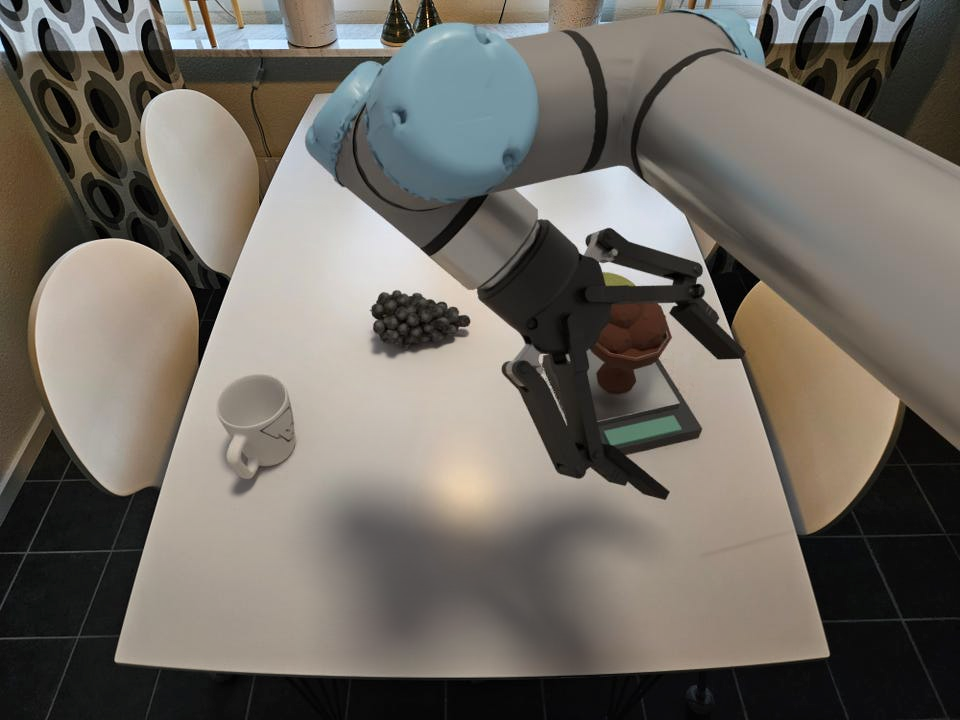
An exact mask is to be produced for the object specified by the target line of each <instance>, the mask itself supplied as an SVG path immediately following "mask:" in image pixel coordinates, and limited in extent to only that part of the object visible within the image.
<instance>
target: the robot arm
mask: <svg viewBox="0 0 960 720" xmlns="http://www.w3.org/2000/svg"><path fill="white" fill-rule="evenodd" d="M765 61H766V60H765V54H764V50H763V47H762V44H761V41H760V39H759V38H757V37H756V36H754V34H753V32H752V31H751V24H750V23H749V21H748V20H746V18H745V17H743V16H742V15H740V13H737V12H735V11H733V10H730V9H725V8H704V9H703V8H702V9H701V8H700V9H690V8H680V7H679V8H674V9H671V10H669V11H668V10H665V11H661V12H659V13H657V14H651V15H646V16H640V17H639V16H638V17H635V18H628V19H622V20H616V21H611V22H605V23H598V24H593V25H586V26H582V27H581V26H580V27H576V28H570V29H563V30H556V31H550V32H549V31H548V32H543V33H536V34H530V35H524V36H517V37H509V38H504V37H503V36H501V35H499V34H497V33H494V32H491V31H490V30H488V29H485V28H483V27H480V26H475V24H472V23H467V22H443V23H438V24H436V25H433V26H431V27H428V28H425V29H423V30H421V31H419V32H418V33H416V34H415V35H413V36H411V38H410V39H408V40H407V41H406V42H405V43H404V44H403V45H402V46H401V47H400V48H399V49H398V50H397V52H394V54H393V55H392V56H391V58H390V59H389V61H388V62H386V63H385V64H383V65H382V64H381V63H380V62H376V61H373V60H368V61H364V62H361V63H360V64H358V65H357V66H355V68H354V69H353V70H352V71H351V72H350V73H349V74H348V75H347V76H346V77H345V78H344V80H343V81H342V82H341V83H340V84H339V85H338V86H337V88H336V89H335V90H334V91H333V93H332V94H331V95H330V96H329V98H328V99H327V101H325V103H324V104H323V106H322V107H321V108H320V109H319V112H318V113H317V114H316V116H315V117H314V119H313V121H312V124H311V125H310V126H309V127H308V129H307V131H306V133H305V138H304V144H305V149H306V151H307V152H308V154H309V155H310V157H312V158H313V160H315V161H316V162H317V163H318V164H319V165H320V166H321V167H322V168H323V169H325V171H327V172H328V173H329V174H330V175H331V176H332V177H333V181H334V182H335V183H336V184H338V185H339V186H340V187H341V188H346V189H347V190H348V191H350V193H352V194H353V195H354V196H355V197H357V198H358V199H359V200H361V201H362V202H363V203H364V204H365V205H367V207H369V208H370V209H372V211H374V212H375V213H376V214H378V215H379V216H380V217H381V218H382V219H383V220H385V221H386V222H387V223H389V224H390V225H391V226H392V227H393V228H394V229H396V230H397V231H398V232H399V233H401V234H402V235H403V236H404V237H405V238H406V239H408V240H409V241H410V242H411V243H412V244H414V245H415V246H416V247H417V248H419V250H421V251H422V252H423V253H424V254H425V255H426V256H427V257H428V258H429V259H430V260H431V261H433V262H434V263H435V264H436V265H438V266H439V267H440V268H441V269H442V270H444V271H445V272H446V273H447V274H448V275H450V276H451V277H452V278H453V279H454V280H456V281H457V282H458V283H459V284H460V285H461V286H462V287H464V288H465V289H466V290H467V291H474V290H476V294H477V299H478V300H479V301H480V303H482V304H483V305H485V307H487V308H488V309H489V310H490V311H492V312H493V313H494V314H495V315H496V316H498V317H499V319H501V320H502V321H503V322H504V323H506V324H507V325H508V326H510V328H512V329H514V330H515V331H516V332H517V333H518V334H519V335H520V336H521V339H522V340H523V342H524V344H525V345H524V346H523V347H522V349H521V350H520V351H519V352H518V354H517V355H516V356H515V357H514V358H513V360H507V361H505V362H503V364H502V365H501V374H502V375H503V376H504V377H505V378H506V379H507V380H508V381H509V382H510V384H512V385H513V386H514V387H515V388H516V390H518V392H519V394H520V396H521V398H522V401H523V402H524V405H525V407H526V410H527V411H528V413H529V415H530V418H531V420H532V422H533V424H534V426H535V429H536V431H537V433H538V435H539V437H540V439H541V441H542V443H543V446H544V447H545V450H546V452H547V454H548V456H549V458H550V461H551V463H552V465H553V467H554V470H555V471H556V473H557V474H559V475H562V476H566V477H570V478H573V479H577V480H580V479H583V478H584V477H585V476H586V474H587V471H588V470H589V469H592V470H593V471H594V472H596V473H597V474H598V475H599V476H600V477H602V478H603V479H604V480H605V481H606V482H608V483H611V484H615V485H619V486H623V487H626V486H627V484H630V485H632V487H633V488H635V489H636V490H637V491H638V492H640V493H641V494H642V495H643V496H644V495H645V496H648V497H651V498H655V499H659V500H664V501H666V500H667V499H668V497H669V494H670V493H671V491H670V490H668V489H667V488H666V487H665V486H664V485H662V484H661V482H659V481H657V480H656V479H655V478H654V477H653V476H652V475H650V474H649V473H648V472H647V471H645V470H644V469H643V468H642V467H640V466H639V465H638V464H637V463H636V462H634V461H633V460H632V459H631V458H630V457H628V456H627V454H626V455H625V454H623V453H622V452H621V451H620V450H618V449H617V448H616V447H615V446H614V445H609V444H602V441H601V436H600V431H599V427H598V422H597V417H596V412H595V408H594V403H593V398H592V393H591V389H590V384H589V379H588V375H587V371H588V369H589V361H588V356H587V352H586V351H588V350H589V349H593V348H594V346H595V345H596V343H597V341H598V339H599V336H600V333H601V330H603V329H604V328H605V327H606V326H607V325H608V324H609V322H610V320H611V319H612V317H613V316H612V315H611V305H627V304H655V303H658V304H675V305H672V307H671V309H670V311H669V312H668V314H669V315H670V316H671V317H672V318H673V319H675V321H676V322H677V323H679V324H680V325H681V326H682V327H683V328H684V329H685V330H686V331H687V332H688V334H690V335H691V336H692V337H693V338H694V339H695V340H696V341H697V342H698V343H700V345H702V346H703V347H704V349H706V350H707V351H708V352H709V353H710V354H711V355H712V356H713V357H714V358H715V359H716V360H743V358H744V356H745V354H746V352H747V351H746V350H745V349H744V348H743V347H742V346H741V345H740V344H739V343H738V342H737V341H736V340H735V339H734V338H733V337H731V335H730V334H729V333H727V331H726V330H725V329H723V327H721V325H719V324H718V322H719V320H720V316H719V314H718V312H717V311H716V310H715V309H714V308H713V307H712V306H711V305H710V304H709V303H708V302H707V301H706V300H705V299H704V296H705V294H706V290H705V286H704V285H703V284H702V283H697V281H698V278H700V277H702V275H703V273H704V269H703V266H702V264H701V263H700V262H697V261H694V260H692V259H688V258H684V257H681V256H677V255H674V254H671V253H667V252H664V251H661V250H658V249H655V248H651V247H649V246H645V245H642V244H638V243H634V242H633V241H629V240H627V239H626V238H625V237H624V236H622V235H621V234H620V233H618V232H617V230H615V229H613V228H612V227H606V228H603V229H600V230H598V231H595V232H593V233H590V234H588V235H586V237H585V241H584V242H585V245H586V249H585V252H584V253H581V252H580V251H579V249H578V247H577V245H576V244H574V242H573V241H572V240H570V239H569V238H568V237H567V235H565V234H564V233H563V232H562V231H561V230H560V229H559V228H557V226H555V225H554V223H552V221H550V220H549V219H543V218H540V219H539V209H538V208H537V207H536V206H535V205H533V204H532V202H530V201H529V200H528V199H527V198H526V197H525V196H523V194H522V193H521V192H520V191H518V190H517V188H522V187H527V186H531V185H535V184H539V183H545V182H550V181H553V180H557V179H562V178H565V177H570V176H571V177H572V176H576V175H580V174H581V175H582V174H586V173H587V174H588V173H591V172H597V171H599V170H605V169H610V168H614V167H625V168H628V169H629V170H630V171H631V172H632V173H633V174H634V175H636V176H637V177H638V178H639V179H640V180H642V181H643V182H644V183H645V184H647V185H648V186H649V187H651V188H652V189H654V190H655V191H656V192H657V193H658V194H660V195H661V196H662V197H663V198H665V200H667V201H668V202H669V203H670V204H671V205H672V206H673V207H675V208H676V209H677V210H678V211H679V212H681V213H682V214H683V215H684V216H686V218H688V219H689V220H690V221H691V222H692V223H694V224H695V225H696V227H698V228H699V229H701V230H702V232H704V233H705V234H707V235H708V237H710V238H711V239H712V240H713V241H715V242H716V243H717V244H718V245H719V246H720V247H722V248H723V249H724V251H726V252H727V253H728V254H729V255H730V256H732V257H733V258H734V259H735V260H737V261H738V262H739V263H740V264H741V265H742V266H744V267H745V268H746V269H747V270H748V271H750V273H751V274H753V275H754V276H755V277H756V278H758V279H759V281H761V282H762V283H764V284H765V285H766V286H767V287H768V288H769V289H771V290H772V291H773V292H774V293H775V294H776V295H777V296H779V297H780V298H781V299H783V301H784V302H785V303H787V304H788V305H789V306H790V307H791V308H793V309H794V310H795V311H796V312H797V313H798V314H799V315H800V316H802V317H803V318H804V319H805V320H807V321H808V322H809V323H810V324H811V325H812V326H814V327H815V328H816V329H817V330H818V331H819V332H820V333H821V334H822V335H824V336H825V337H826V338H827V339H828V340H830V342H832V343H833V344H835V345H836V346H837V348H839V349H840V350H841V351H843V353H845V355H847V356H848V357H849V358H851V359H852V360H853V361H854V362H855V363H857V364H858V365H859V366H860V367H861V368H863V369H864V370H865V371H866V372H868V374H869V375H871V376H872V377H873V378H874V379H876V381H878V382H879V383H880V384H881V385H882V386H883V387H884V388H886V389H887V390H888V391H889V392H890V393H891V394H893V395H894V396H895V397H896V398H897V399H898V400H899V401H901V402H902V403H903V404H905V405H906V407H908V408H909V409H910V410H911V411H912V412H913V413H915V414H916V415H917V416H918V417H920V418H921V419H922V420H923V421H924V422H925V423H927V425H929V426H930V427H931V428H932V429H933V430H935V432H937V433H938V434H939V435H940V436H942V437H943V438H944V439H945V440H946V441H947V442H948V443H950V444H951V445H952V446H953V447H954V448H956V450H958V451H959V452H960V166H959V165H958V164H955V163H953V162H951V161H950V160H948V159H945V158H944V157H941V156H939V155H938V154H936V153H934V152H932V151H930V150H928V149H926V148H924V147H922V146H920V145H918V144H916V143H914V142H912V141H911V140H908V139H906V138H904V137H902V136H901V135H898V134H897V133H895V132H893V131H890V130H889V129H887V128H885V127H882V126H881V125H879V124H878V123H875V122H873V121H871V120H869V119H868V118H865V117H863V116H861V115H860V114H858V113H855V112H853V111H851V110H849V109H848V108H846V107H843V106H841V105H839V104H838V103H835V101H831V100H830V99H828V98H826V97H824V96H822V95H820V94H819V93H816V92H814V91H812V90H810V89H808V88H806V87H804V86H802V85H800V84H798V83H796V82H794V81H793V80H790V79H789V78H787V77H785V76H783V75H780V74H779V73H777V72H775V71H772V70H771V69H769V68H766V62H765ZM600 263H601V264H606V263H610V264H611V263H612V264H614V265H618V266H621V267H623V268H624V267H625V268H628V269H632V270H634V271H638V272H641V273H645V274H649V275H652V276H656V277H659V278H664V279H667V280H670V281H672V284H667V285H666V284H664V285H663V284H661V285H635V286H629V285H621V286H606V284H605V280H604V276H603V273H602V272H603V270H602V265H601V264H600ZM548 354H549V359H550V363H551V368H552V371H553V373H554V374H555V375H556V377H557V380H558V385H559V390H560V394H561V399H562V404H563V408H564V411H563V412H564V417H565V419H564V417H563V414H562V412H561V409H560V407H559V405H558V403H557V401H556V399H555V397H554V395H553V392H552V390H551V388H550V385H549V384H548V383H547V381H546V380H545V378H544V377H543V376H542V374H543V372H544V367H543V366H541V363H540V355H548ZM566 354H569V357H570V361H568V360H567V357H566Z"/></svg>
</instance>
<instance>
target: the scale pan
mask: <svg viewBox="0 0 960 720" xmlns="http://www.w3.org/2000/svg"><path fill="white" fill-rule="evenodd" d="M586 352H587V356H588V361H589V369H588V371H587V375H588V379H589V384H590V389H591V393H592V398H593V403H594V408H595V412H596V417H597V422H598V426H599V425H604V424H608V423H612V422H617V421H621V420H626V419H630V418H635V417H639V416H643V415H648V414H652V413H657V412H661V411H666V410H670V409H675V408H678V407H679V405H680V402H679V401H678V399H677V397H676V396H675V394H674V392H673V391H672V389H671V388H670V386H669V384H668V383H667V381H666V379H665V378H664V376H663V375H662V373H661V371H660V370H659V368H658V366H657V365H656V363H653V364H652V365H649V366H645V367H642V368H638V369H635V370H634V374H635V377H636V383H635V384H634V386H633V387H632V389H631V390H627V391H624V392H621V393H619V392H614V391H609V390H606V389H605V388H604V387H603V386H602V385H601V384H599V383H598V380H597V375H596V373H597V371H598V370H599V369H600V367H601V366H602V364H603V363H604V362H603V361H602V360H601V359H599V358H598V357H597V356H596V355H594V354H593V353H592V352H591V350H590V349H589V350H588V351H586ZM566 357H567V360H568V361H570V357H569V354H566Z"/></svg>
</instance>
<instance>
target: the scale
mask: <svg viewBox="0 0 960 720" xmlns="http://www.w3.org/2000/svg"><path fill="white" fill-rule="evenodd" d="M542 355H543V356H542V368H543V370H544V371H545V374H546V376H547V378H548V380H549V383H550V384H551V387H552V389H553V391H554V393H555V396H556V398H557V400H558V402H559V404H560V406H561V409H562V411H563V412H564V408H563V404H562V399H561V394H560V390H559V385H558V380H557V377H556V375H555V374H554V373H553V371H552V368H551V363H550V359H549V354H542ZM655 363H656V365H657V366H658V368H659V370H660V371H661V373H662V375H663V376H664V378H665V379H666V381H667V383H668V384H669V386H670V388H671V389H672V391H673V392H674V394H675V396H676V397H677V399H678V401H679V402H680V405H679V407H678V408H675V409H670V410H666V411H661V412H657V413H652V414H648V415H643V416H639V417H635V418H630V419H626V420H621V421H617V422H612V423H608V424H604V425H599V426H598V427H599V431H600V436H601V441H602V444H609V445H614V446H615V447H616V448H617V449H618V450H620V451H621V452H622V453H623V454H625V455H626V456H627V455H631V454H634V453H635V454H636V453H639V452H643V451H648V450H651V449H655V448H659V447H664V446H668V445H673V444H677V443H682V442H685V441H689V440H690V441H691V440H694V439H698V438H700V436H701V433H702V431H703V427H702V426H701V424H700V422H699V421H698V419H697V418H696V416H695V414H694V413H693V411H692V409H691V408H690V406H689V405H688V403H687V401H686V400H685V397H683V395H682V393H681V391H680V390H679V389H678V387H677V386H676V384H675V382H674V380H673V379H672V377H671V376H670V375H669V372H668V371H667V370H666V367H665V366H664V364H663V363H662V361H661V360H660V357H659V358H658V360H657V361H656V362H655Z"/></svg>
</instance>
